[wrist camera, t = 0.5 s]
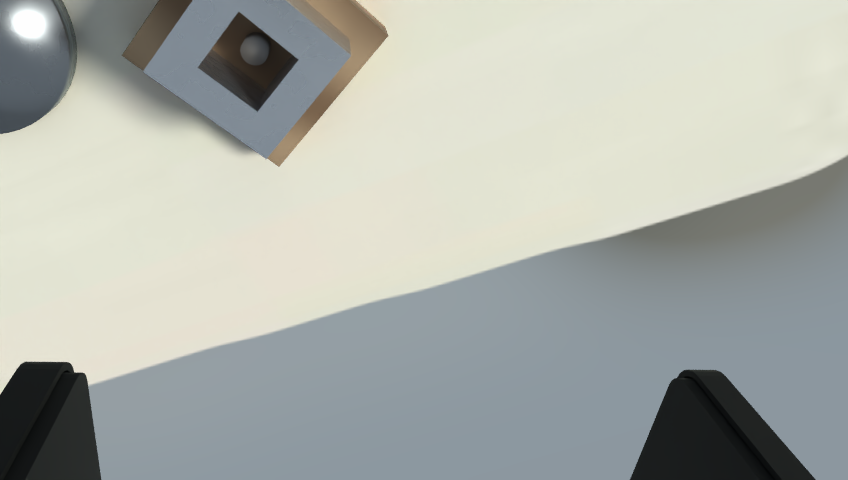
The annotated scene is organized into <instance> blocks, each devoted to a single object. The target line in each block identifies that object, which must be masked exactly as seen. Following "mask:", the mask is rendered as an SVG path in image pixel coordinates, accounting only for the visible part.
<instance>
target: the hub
mask: <svg viewBox="0 0 848 480" xmlns="http://www.w3.org/2000/svg"><path fill="white" fill-rule="evenodd" d="M76 56H77V48H76V40H75V34H74V30H73V26H72V23H71V20H70V17H69V15H68V12H67V10H66V8H65V6H64V4H63V2H62V0H0V134H3V133H9V132H13V131H16V130H20V129H22V128H24V127H27V126H29V125H31V124H33V123H34V122H36V121H37V120H39V119H40V118H42V117H43V116H44V115H46V114H47V113H48V112H50V111H51V110H52V109H53V108H54V107H55V106H56V105H57V104H58V103H59V102H60V101H61V100H62V98H63V97H64V96H65V94H66V92H67V91H68V89H69V87H70V85H71V82H72V79H73V76H74V73H75V67H76Z"/></svg>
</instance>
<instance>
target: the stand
mask: <svg viewBox="0 0 848 480" xmlns="http://www.w3.org/2000/svg"><path fill="white" fill-rule="evenodd" d="M192 1H193V0H159V1H158V3H157V4H156V6H155V7H154V9H153V10H152V12H151V13H150V15H149V16H148V18H147V19H146V21H145V22H144V24H143V25H142V26H141V28H140V29H139V31H138V32H137V34H136V35H135V37H134V38H133V40H132V41H131V43H130V44H129V46H128V47H127V49H126V50H125V52H124V53H123V55H122V56H123V57H125V58H126V59H127V60H129V61H130V62H132V63H133V64H135V65H136V66H137V67H139V68H140V69H142V70H143V71H144V69H145V68H146V66H147V65H148V64H149V62H150V61H151V59H152V58H153V56H154V55H155V54H156V52H157V51H158V49H159V48H160V46H161V45H162V44H163V42H164V41H165V39H166V38H167V36H168V35H169V33H170V32H171V31H172V29H173V28H174V26H175V25H176V23H177V22H178V21H179V19H180V18H181V16H182V15H183V13H184V12H185V11H186V9H187V8H188V6H189V5H190V3H191V2H192ZM305 1H306V2H308V3H309V4H310V5H311V6H312V7H313V8H315V9H316V10H317V11H318V12H319V13H320V14H322V15H323V16H324V17H325V18H326V19H327V20H329V21H330V22H331V23H332V24H333V25H334V26H335V27H337V28H338V29H339V30H340V31H341V32H342V33H344V34H345V35H346V36H347V37H348V38H349V39H350V49H351V57H350V58H349V59H348V60H347V61H346V63H345V64H344V65H343V66H342V68H341V69H340V70H339V71H338V72H337V74H336V75H335V76H334V77H333V79H332V80H331V81H330V82H329V83H328V85H327V86H326V87H325V88H324V89H323V91H322V92H321V93H320V94H319V96H318V97H317V98H316V99H315V100H314V102H313V103H312V104H311V105H310V107H309V108H308V109H307V110H306V111H305V113H304V114H303V115H302V116H301V118H300V119H299V120H298V121H297V122H296V124H295V125H294V126H293V127H292V128H291V130H290V131H289V132H288V133H287V135H286V136H285V137H284V138H283V139H282V141H281V142H280V143H279V144H278V146H277V147H276V148H275V149H274V150H273V152H272V153H271V154H270V155H269V157H268V158H267V159H269V160H270V161H272V162H273V163H275V164H276V165H277V166H280V165H281V164H282V163H283V161H284V160H285V159H286V158H287V157H288V155H289V154H290V153H291V152H292V151H293V149H294V148H295V147H296V146H297V145H298V143H299V142H300V141H301V140H302V139H303V137H304V136H305V135H306V134H307V133H308V131H309V130H310V129H311V128H312V127H313V125H314V124H315V123H316V122H317V121H318V119H319V118H320V117H321V116H322V115H323V113H324V112H325V111H326V110H327V109H328V107H329V106H330V105H331V104H332V103H333V101H334V100H335V99H336V98H337V97H338V95H339V94H340V93H341V92H342V91H343V89H344V88H345V87H346V86H347V85H348V83H349V82H350V81H351V80H352V79H353V77H354V76H355V75H356V74H357V73H358V71H359V70H360V69H361V68H362V67H363V65H364V64H365V63H366V62H367V61H368V59H369V58H370V57H371V56H372V55H373V53H374V52H375V51H376V50H377V49H378V47H379V46H380V45H381V44H382V43H383V41H384V40H385V39H386V38H387V37H388V34H387V31H386V28H385V26H384V25H382V24H381V23H380V22H379V21H378V20H377V19H376V18H375V17H374V16H372V15H371V14H370V13H369V12H368V11H367V10H366V9H365V8H364V7H362V6H361V5H360V4H359V3H358V2H357V1H356V0H305ZM212 49H213V50H214V51H215V52H217V53H218V54H219V55H221V56H222V57H223V58H225V59H226V60H227V61H229V62H230V63H231V64H233V65H234V66H235V67H236V68H238V69H239V70H240V71H242V72H243V73H244V74H246V75H247V76H248V77H250V78H251V79H252V80H254V81H255V82H256V83H257V84H259V85H260V86H261V87H263V88H264V89H266V88H267V87H268V85H269V84H270V83H271V82H272V80H273V79H274V78H275V76H276V75H277V74H278V73H279V71H280V70H281V69H282V68H283V66H284V65H285V64H286V62H287V61H288V60H289V59H290V57H291V56H292V54H291V53H290V52H288V51H287V50H286V49H285V48H284V47H282V46H281V45H280V44H279V43H277V42H276V41H275V40H274V39H272V38H271V37H270V36H269V35H267V34H266V33H265V32H264V31H262V30H261V29H260V28H259V27H257V26H256V25H255V24H254V23H253V22H251V21H250V20H249V19H248V18H246V17H245V16H244V15H243V14H241V13H240V12H238V14H237V15H236V17H235V18H234V19H233V21H232V22H231V23H230V25H229V26H228V27H227V29H226V30H225V32H224V33H223V34H222V36H221V37H220V38H219V40H218V41H217V43H216V44H215V45H214V47H213V48H212Z"/></svg>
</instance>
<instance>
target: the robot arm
mask: <svg viewBox="0 0 848 480" xmlns="http://www.w3.org/2000/svg"><path fill="white" fill-rule="evenodd" d="M0 480H101V475H100V468H99V460H98V453H97V446H96V440H95V432H94V426H93V419H92V411H91V404H90V397H89V390H88V382H87V378H86V375H85V373H74V370H73V367H72V365H71V364H70V363H68V362H24V363H22V364H21V365H20V366H19V367H18V369H17V370H16V372H15V373H14V375H13V376H12V378H11V379H10V381H9V382H8V384H7V385H6V387H5V388H4V390H3V391H2V393H1V394H0ZM630 480H815V479H814V477H813V476H812V475H811V474H810V473H809V472H808V470H807V469H806V468H805V467H804V466H803V465H802V464H801V463H800V461H799V460H798V459H797V458H796V457H795V455H794V454H793V453H792V452H791V451H790V450H789V449H788V447H787V446H786V445H785V444H784V443H783V442H782V441H781V439H780V438H779V437H778V436H777V435H776V434H775V432H773V430H772V429H771V428H770V427H769V426H768V424H767V423H766V422H765V421H764V420H763V419H762V418H761V416H760V415H759V414H758V413H757V412H756V411H755V410H754V408H753V407H752V406H751V405H750V404H749V403H748V401H747V400H746V399H745V398H744V397H743V396H742V395H741V394H740V392H739V391H738V390H737V389H736V388H735V387H734V385H733V384H732V383H731V382H730V381H729V380H728V379H727V377H726V376H724V374H722V373H721V372H719V371H716V370H684V371H683V372H681V373H680V374H679V376H678V377H677V378H676V379H673V380H672V381H671V383H670V384H669V387H668V389H667V391H666V394H665V396H664V399H663V401H662V404H661V406H660V408H659V411H658V413H657V416H656V418H655V421H654V423H653V426H652V428H651V430H650V433H649V435H648V438H647V440H646V443H645V445H644V447H643V450H642V452H641V455H640V457H639V459H638V462H637V464H636V467H635V469H634V472H633V474H632V477H631V479H630Z"/></svg>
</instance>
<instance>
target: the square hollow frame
mask: <svg viewBox="0 0 848 480" xmlns="http://www.w3.org/2000/svg"><path fill="white" fill-rule="evenodd" d="M238 12H240V13H241V14H243V15H244V16H245V17H246V18H248V19H249V20H250V21H251V22H253V23H254V24H255V25H256V26H257V27H259V28H260V29H261V30H262V31H264V32H265V33H266V34H267V35H269V36H270V37H271V38H272V39H274V40H275V41H276V42H277V43H279V44H280V45H281V46H282V47H284V48H285V49H286V50H287V51H288V52H290V53H291V54H292V56H291V57H290V59H289V60H288V61H287V62H286V64H285V65H284V66H283V68H282V69H281V70H280V71H279V73H278V74H277V75H276V76H275V78H274V79H273V80H272V82H271V83H270V84H269V85H268V87H267V88H266V89H264V88H263V87H261V86H260V85H259V84H257V83H256V82H255V81H254V80H252V79H251V78H250V77H248V76H247V75H246V74H244V73H243V72H242V71H240V70H239V69H238V68H236V67H235V66H234V65H233V64H231V63H230V62H229V61H227V60H226V59H225V58H223V57H222V56H221V55H219V54H218V53H217V52H215V51H214V50H213V49H212V48H213V47H214V45H215V44H216V43H217V41H218V40H219V38H220V37H221V36H222V34H223V33H224V32H225V30H226V29H227V27H228V26H229V25H230V23H231V22H232V21H233V19H234V18H235V17H236V15H237V14H238ZM350 57H351V49H350V39H349V38H348V37H347V36H346V35H345V34H344V33H342V32H341V31H340V30H339V29H338V28H337V27H335V26H334V25H333V24H332V23H331V22H330V21H329V20H327V19H326V18H325V17H324V16H323V15H322V14H320V13H319V12H318V11H317V10H316V9H315V8H313V7H312V6H311V5H310V4H309V3H308V2H306V1H305V0H193V1H192V2H191V3H190V5H189V6H188V8H187V9H186V11H185V12H184V13H183V15H182V16H181V18H180V19H179V21H178V22H177V23H176V25H175V26H174V28H173V29H172V31H171V32H170V33H169V35H168V36H167V38H166V39H165V41H164V42H163V44H162V45H161V46H160V48H159V49H158V51H157V52H156V54H155V55H154V56H153V58H152V59H151V61H150V62H149V64H148V65H147V66H146V68H145V69H144V71H143V72H144V73H145V74H147V75H148V76H150V77H151V78H152V79H154V80H155V81H157V82H158V83H159V84H161V85H162V86H164V87H165V88H166V89H168V90H169V91H171V92H172V93H174V94H175V95H176V96H178V97H179V98H181V99H182V100H183V101H185V102H186V103H188V104H189V105H191V106H192V107H193V108H195V109H196V110H198V111H199V112H200V113H202V114H203V115H205V116H206V117H208V118H209V119H210V120H212V121H213V122H215V123H216V124H217V125H219V126H220V127H222V128H223V129H225V130H226V131H227V132H229V133H230V134H232V135H233V136H234V137H236V138H237V139H239V140H240V141H242V142H243V143H244V144H246V145H247V146H249V147H250V148H251V149H253V150H254V151H256V152H257V153H259V154H260V155H261V156H263V157H264V158H266V159H267V158H268V157H269V155H270V154H271V153H272V152H273V150H274V149H275V148H276V147H277V146H278V144H279V143H280V142H281V141H282V139H283V138H284V137H285V136H286V135H287V133H288V132H289V131H290V130H291V128H292V127H293V126H294V125H295V124H296V122H297V121H298V120H299V119H300V118H301V116H302V115H303V114H304V113H305V111H306V110H307V109H308V108H309V107H310V105H311V104H312V103H313V102H314V100H315V99H316V98H317V97H318V96H319V94H320V93H321V92H322V91H323V89H324V88H325V87H326V86H327V85H328V83H329V82H330V81H331V80H332V79H333V77H334V76H335V75H336V74H337V72H338V71H339V70H340V69H341V68H342V66H343V65H344V64H345V63H346V61H347V60H348V59H349V58H350Z"/></svg>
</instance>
